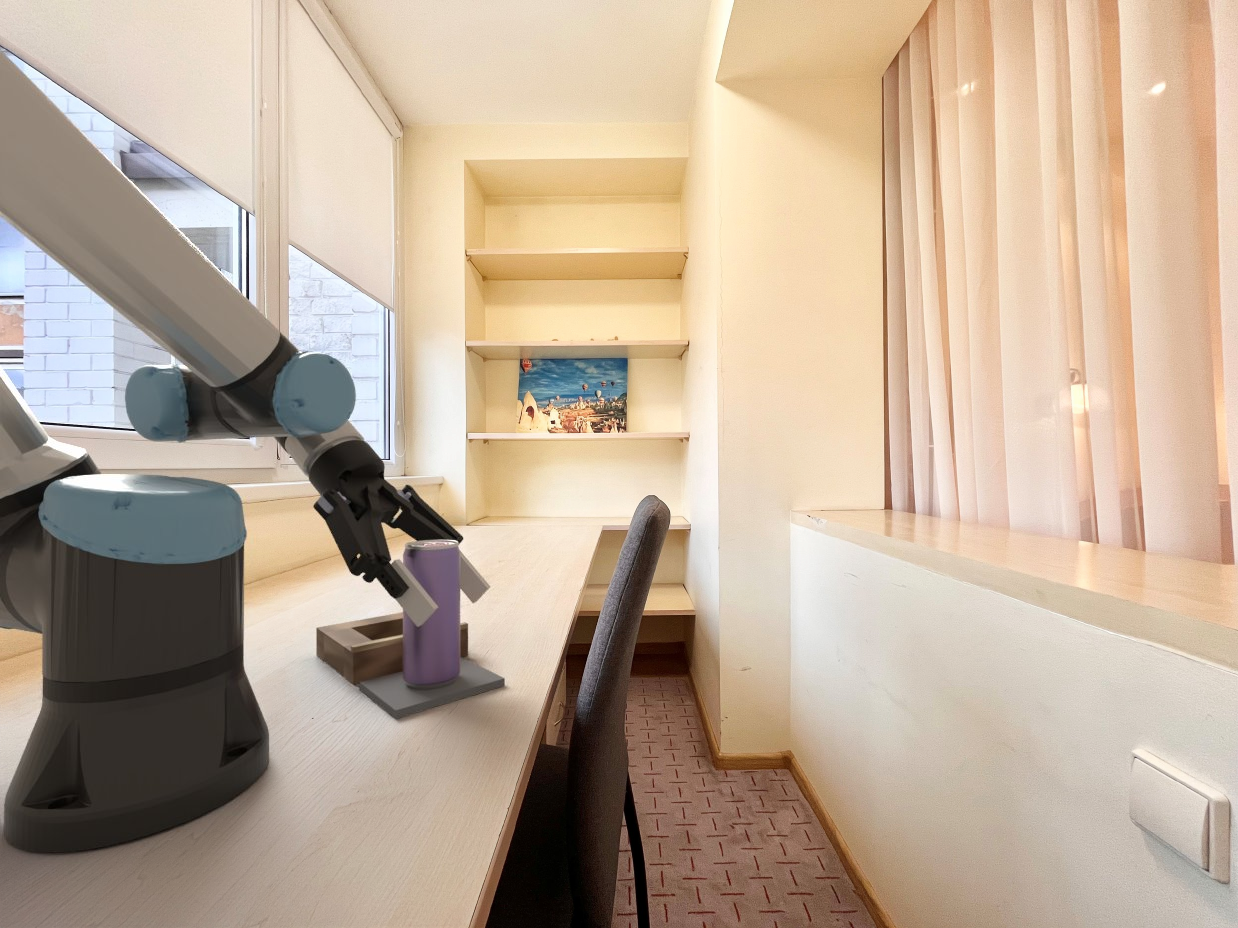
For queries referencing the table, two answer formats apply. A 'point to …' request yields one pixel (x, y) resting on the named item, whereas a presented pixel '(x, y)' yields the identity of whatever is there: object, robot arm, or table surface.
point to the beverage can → (433, 615)
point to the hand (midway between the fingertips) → (457, 605)
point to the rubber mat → (428, 690)
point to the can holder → (368, 646)
